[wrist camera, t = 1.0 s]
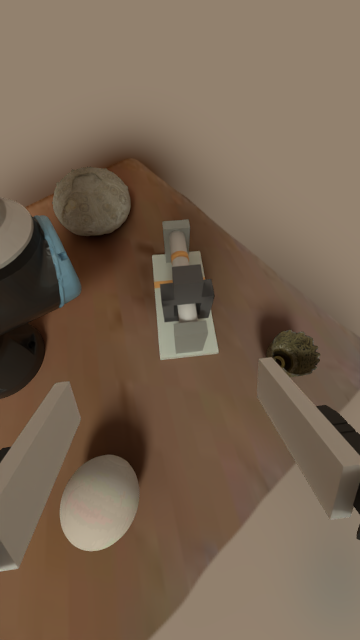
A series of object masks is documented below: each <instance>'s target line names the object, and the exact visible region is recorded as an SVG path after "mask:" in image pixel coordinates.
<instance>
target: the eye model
mask: <svg viewBox="0 0 360 640" xmlns="http://www.w3.org/2000/svg"><path fill="white" fill-rule="evenodd" d="M138 503H139V484H138V480H137V477H136V474H135V472H134V470H133V469H132V467H131V466H130V464H129V463H128V462H127V461H126V460H124V459H123V458H121V457H118V456H115V455H102V456H98V457H95V458H93V459H91V460H89V461H87V462H86V463H84V464H83V465H82V466H81V467H80V468H79V469H78V470H77V471H76V472H75V473H74V474H73V476H72V477H71V478H70V480H69V482H68V483H67V485H66V488H65V490H64V492H63V496H62V499H61V504H60V521H61V526H62V529H63V531H64V534H65V535H66V537H67V539H68V540H69V541H70V542H71V543H72V544H73V545H74V546H76V547H77V548H79V549H82V550H86V551H97V550H101V549H104V548H107V547H109V546H111V545H112V544H114V543H115V542H116V541H118V540H119V539H120V538H121V537H122V536H123V535H124V534H125V532H126V531H127V530H128V528H129V527H130V525H131V523H132V521H133V519H134V517H135V514H136V511H137V508H138Z"/></svg>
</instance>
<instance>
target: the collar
mask: <svg viewBox="0 0 360 640" xmlns="http://www.w3.org/2000/svg"><path fill="white" fill-rule="evenodd" d="M172 279H173V283H166V284H160V292H161V303H162V309H163V315H164V322H173V321H179V315H178V307H177V305H184V304H194V303H195V305H196V311H197V318H198V319H203V318H209V314H210V310H211V307H212V303H213V299H214V291H213V286H212V281H211V279H208V280H203V275H202V270H201V264H197V265H186V266H175V267H172Z"/></svg>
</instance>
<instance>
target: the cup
mask: <svg viewBox="0 0 360 640" xmlns="http://www.w3.org/2000/svg"><path fill="white" fill-rule="evenodd" d="M313 342H314V341H313V338H311V337H309V336H306V335H305V333H304V332H299V333H295V332H292V330H287V331H282V332H280V333H279V334H278V335H277V336H276V337H275V338H274V340H273V341H272V343H271V344H270V346H269V348H268V350H267V353H266V358H269V357H272V358H273V359H274V360H275V362H276V359H279V360H280V361H281V366H280V365H279V364H278V363H277V362H276V363H277V364H278V365H279V366H280V367H281V368H282V369H283V370H284V372H285V373H286V374H287V375H288V376H289V377H295V376H303V375H307V374H311V373H312V371H313V370H315V369H317V367H316V366H315V365H317V363H318V362H319V361H320V359H318V358H319V357H320V354H319V353H318V352H315V351H316V350H317V349H318V347H317V346H314V344H313Z"/></svg>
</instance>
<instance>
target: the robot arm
mask: <svg viewBox="0 0 360 640" xmlns="http://www.w3.org/2000/svg"><path fill="white" fill-rule="evenodd" d="M80 293H81V284H80V281H79V279H78V276H77V274H76V272H75V270H74V268H73V266H72V264H71V261H70V259H69V258H68V256H67V254H66V251H65V249H64V247H63V245H62V243H61V241H60V239H59V237H58V235H57V233H56V231H55V229H54V227H53V225H52V223H51V222H50V220H49V218H48V217H46V216H43V215H41V216H34V217H32V216H31V214H30V213H29V212H28V211H27V209H26V208H25V207H23V206H22V205H21V204H19V203H17V202H15V201H12V200H9V199H4V198H0V399H1V398H5V397H8V396H10V395H12V394H14V393H16V392H18V391H19V390H21V389H22V388H23V387H24V386H26V385H27V384H28V383H29V382H30V381H31V380H32V379H33V377H34V376H35V375H36V373H37V372H38V370H39V368H40V366H41V364H42V361H43V357H44V342H43V338H42V336H41V334H40V333H39V332H38V330H37V329H36V328H34V327H33V326H31V325H30V324H28V322H30V321H32V320H34V319H37V318H39V317H41V316H43V315H45V314H47V313H49V312H51V311H53V310H55V309H58V308H61V307H63V305H64V304H66V303H67V302H69V301H71V300H73V299H74V298H76V297H77V296H79V294H80ZM257 397H258V399H259V401H260V403H261V404H262V406H263V408H264V409H265V411H266V413H267V414H268V416H269V418H270V419H271V421H272V423H273V424H274V426H275V428H276V429H277V431H278V433H279V435H280V436H281V438H282V440H283V441H284V443H285V445H286V446H287V448H288V450H289V451H290V453H291V455H292V456H293V458H294V460H295V462H296V463H297V465H298V467H299V468H300V470H301V471H302V473H303V475H304V477H305V478H306V480H307V482H308V483H309V485H310V487H311V488H312V490H313V492H314V493H315V495H316V497H317V499H318V500H319V502H320V504H321V505H322V507H323V509H324V510H325V512H326V514H327V515H328V517H329V519H330V520H332V519H339V518H346V517H350V516H351V513H352V510H353V507H355V508H356V510H357V511H358V513H359V514H360V434H359V433H358V432H356V431H355V429H354V428H353V427H352V426H351V425H349V424H348V423H347V421H346V420H345V419H344V418H343V417H342V416H341V415H340V414H339V413H338V412H336V411H335V410H333V409H331V408H330V407H328V406H326V405H322V406H315V405H314V404H313V403H312V402H311V401H310V399H309V398H308V397H307V396H306V395H305V394H304V393H303V392H302V391H301V389H300V388H299V387H298V386H297V385H296V384H295V383H294V382H293V381H292V379H291V378H290V377H289V376H288V375H287V374H286V373H285V372H284V370H283V369H282V368H281V367H280V366H279V365H278V364H277V363H276V362H275V360H274V359H273V358H272V357H269V358H261V359H259V366H258V387H257ZM80 420H81V417H80V414H79V411H78V408H77V405H76V401H75V398H74V395H73V392H72V389H71V385H70V382H69V381H68V382H60V383H55V384H54V386H53V387H52V389H51V390H50V392H49V393H48V394H47V396H46V397H45V399H44V400H43V402H42V403H41V405H40V406H39V408H38V409H37V410H36V412H35V413H34V415H33V416H32V418H31V419H30V421H29V422H28V423H27V425H26V426H25V428H24V429H23V431H22V432H21V434H20V435H19V437H18V438H17V439H16V441H15V442H14V444H13V445H12V447H7V448H2V449H1V450H0V571H6V570H12V569H19V566H20V564H21V561H22V559H23V557H24V554H25V552H26V549H27V547H28V545H29V542H30V540H31V537H32V535H33V533H34V530H35V528H36V526H37V523H38V521H39V518H40V516H41V514H42V511H43V509H44V506H45V504H46V502H47V499H48V497H49V494H50V492H51V490H52V487H53V485H54V483H55V480H56V478H57V475H58V473H59V471H60V468H61V466H62V463H63V461H64V459H65V456H66V454H67V451H68V449H69V447H70V444H71V442H72V440H73V437H74V435H75V432H76V430H77V428H78V425H79V423H80ZM357 539H359V540H360V525H359V528H358V531H357Z"/></svg>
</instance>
